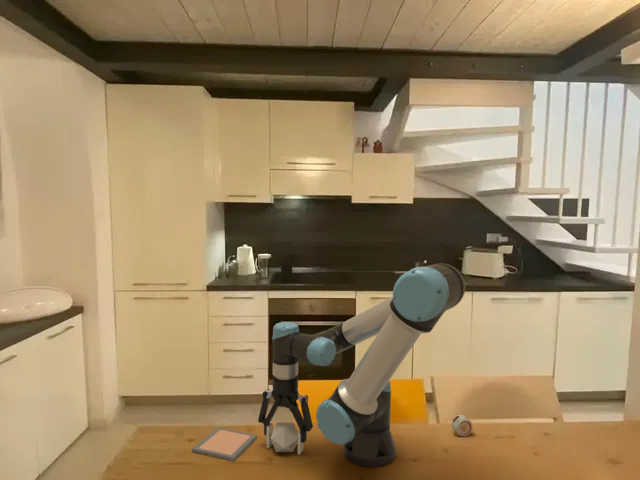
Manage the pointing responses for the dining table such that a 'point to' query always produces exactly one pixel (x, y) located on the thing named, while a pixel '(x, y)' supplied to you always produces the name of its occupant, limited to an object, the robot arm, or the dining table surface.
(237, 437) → the base plate
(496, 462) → the dining table surface
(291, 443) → the die
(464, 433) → the roller toy
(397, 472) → the dining table surface
